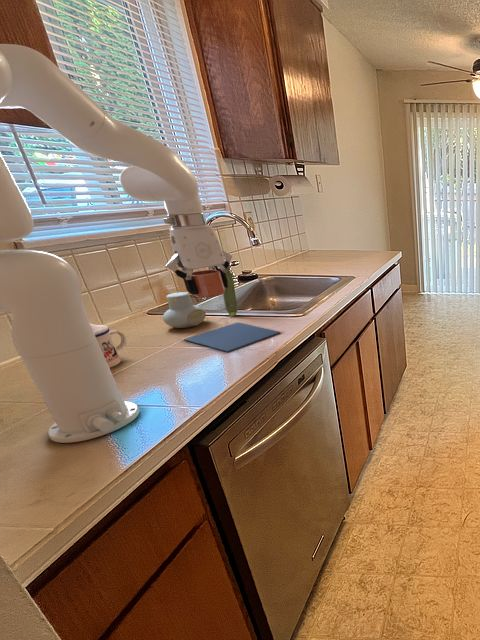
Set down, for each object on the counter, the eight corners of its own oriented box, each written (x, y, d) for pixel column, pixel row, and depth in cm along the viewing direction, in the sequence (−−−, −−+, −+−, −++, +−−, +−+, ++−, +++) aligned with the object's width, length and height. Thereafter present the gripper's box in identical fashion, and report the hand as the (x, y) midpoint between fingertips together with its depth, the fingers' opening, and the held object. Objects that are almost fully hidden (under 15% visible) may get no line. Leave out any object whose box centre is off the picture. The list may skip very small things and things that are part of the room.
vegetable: (229, 314, 135) (212, 254, 127) (243, 312, 137) (227, 253, 128) (226, 318, 132) (208, 256, 123) (241, 316, 133) (224, 255, 124)
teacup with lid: (88, 376, 93) (65, 329, 88) (65, 371, 96) (42, 325, 91) (143, 357, 103) (126, 313, 98) (121, 352, 106) (103, 310, 101)
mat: (280, 333, 118) (280, 331, 118) (227, 352, 105) (227, 351, 105) (237, 323, 126) (237, 322, 126) (184, 340, 113) (184, 339, 113)
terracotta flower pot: (231, 292, 109) (225, 271, 107) (205, 299, 104) (197, 276, 101) (215, 290, 112) (209, 268, 110) (189, 296, 107) (181, 274, 104)
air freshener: (185, 331, 120) (174, 299, 116) (161, 330, 121) (149, 298, 117) (212, 320, 130) (203, 290, 125) (190, 319, 131) (180, 289, 127)
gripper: (158, 225, 92) (183, 300, 99) (231, 218, 106) (248, 284, 113) (141, 224, 95) (166, 296, 102) (214, 217, 109) (231, 282, 116)
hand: (209, 290), depth 107 cm, fingers closed on terracotta flower pot, 7 cm apart
